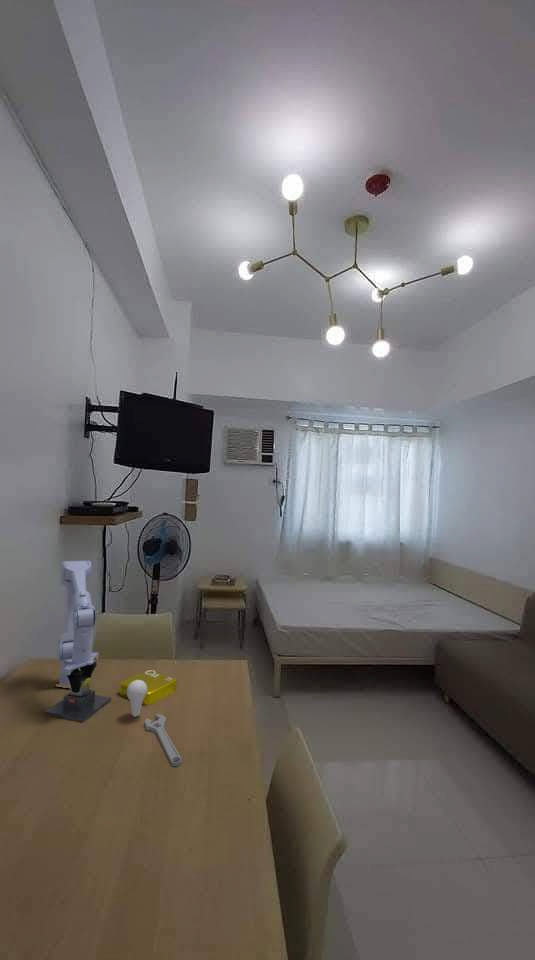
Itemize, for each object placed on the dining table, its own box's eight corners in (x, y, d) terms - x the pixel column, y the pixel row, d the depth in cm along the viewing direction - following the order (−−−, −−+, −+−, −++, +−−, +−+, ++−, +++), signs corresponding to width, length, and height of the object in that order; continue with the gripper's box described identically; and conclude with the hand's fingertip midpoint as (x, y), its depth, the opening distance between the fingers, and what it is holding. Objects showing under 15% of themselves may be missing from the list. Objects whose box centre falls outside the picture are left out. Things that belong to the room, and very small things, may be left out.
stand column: (78, 700, 136) (79, 675, 137) (89, 702, 135) (91, 677, 136) (69, 706, 132) (70, 680, 133) (80, 708, 131) (82, 682, 132)
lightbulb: (148, 712, 133) (150, 677, 133) (141, 722, 126) (143, 685, 127) (130, 710, 133) (132, 675, 134) (122, 720, 127) (124, 684, 128)
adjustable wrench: (182, 767, 107) (183, 760, 107) (157, 773, 105) (158, 766, 105) (163, 718, 130) (163, 712, 130) (142, 722, 127) (142, 716, 127)
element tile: (116, 695, 144) (117, 681, 144) (149, 679, 157) (150, 667, 157) (147, 707, 136) (148, 693, 136) (178, 690, 149) (179, 677, 149)
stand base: (75, 694, 142) (76, 679, 142) (111, 700, 139) (111, 686, 139) (44, 714, 129) (45, 698, 129) (82, 722, 125) (83, 705, 125)
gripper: (77, 656, 127) (75, 701, 126) (107, 640, 141) (104, 681, 140) (58, 653, 128) (55, 697, 128) (89, 638, 142) (86, 678, 142)
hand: (80, 688), depth 134 cm, fingers closed on stand column, 4 cm apart
